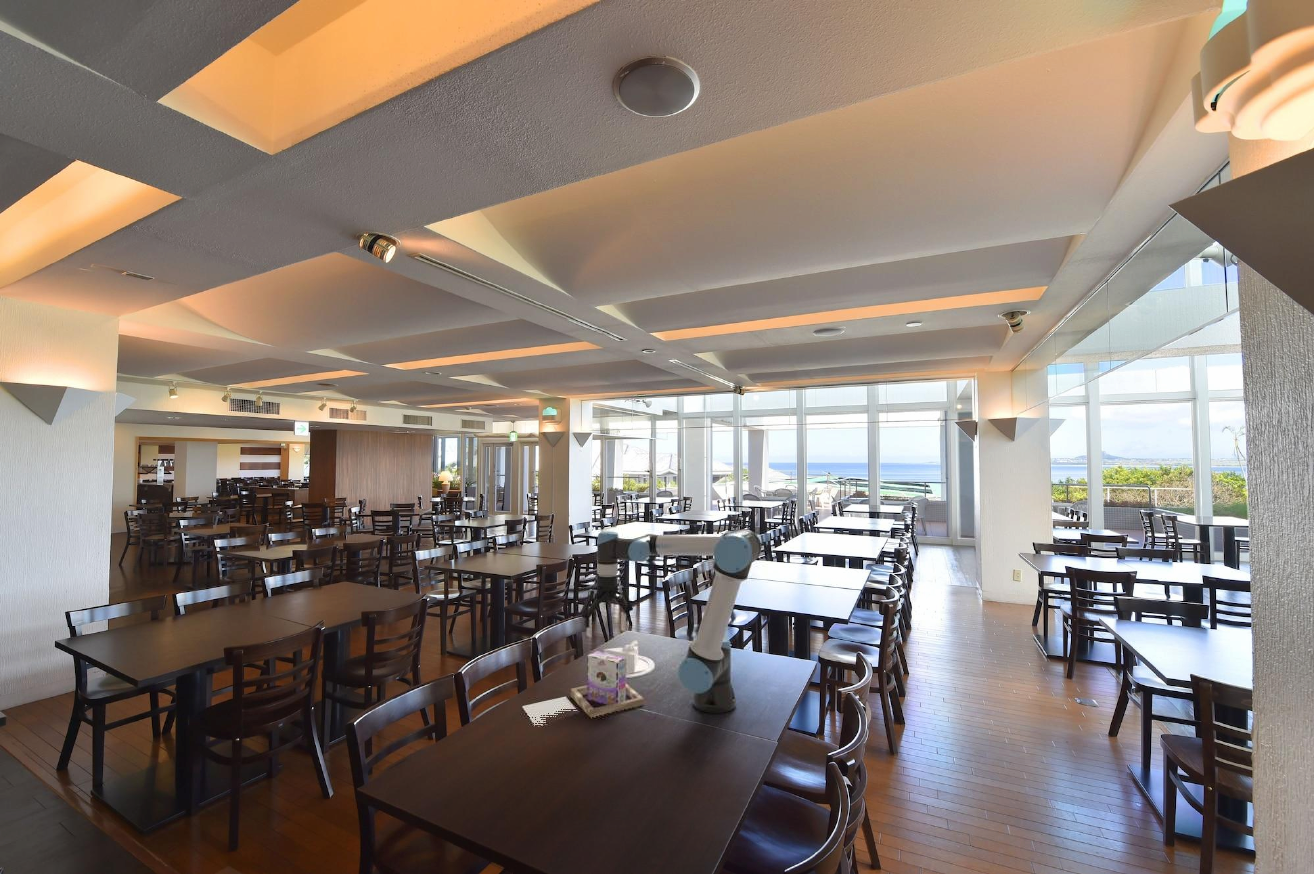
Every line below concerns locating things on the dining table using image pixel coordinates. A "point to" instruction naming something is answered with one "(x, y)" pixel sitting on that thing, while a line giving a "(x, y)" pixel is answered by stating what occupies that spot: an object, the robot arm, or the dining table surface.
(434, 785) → the dining table surface
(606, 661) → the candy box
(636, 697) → the pocket frame
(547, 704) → the place mat
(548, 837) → the dining table surface
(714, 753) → the dining table surface
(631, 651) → the dish
